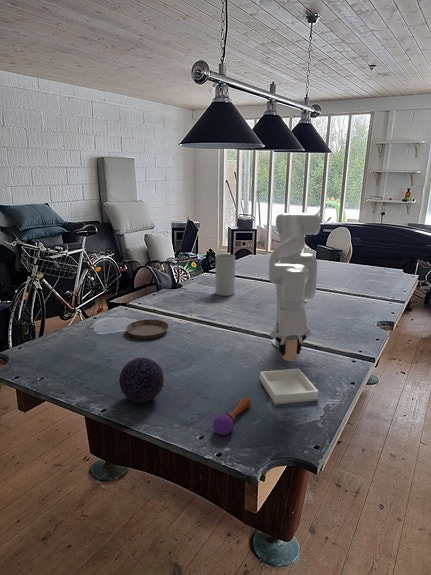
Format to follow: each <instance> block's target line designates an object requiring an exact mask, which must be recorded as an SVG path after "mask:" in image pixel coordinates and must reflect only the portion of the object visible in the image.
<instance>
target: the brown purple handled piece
mask: <svg viewBox="0 0 431 575" xmlns="http://www.w3.org/2000/svg"><path fill="white" fill-rule="evenodd" d="M251 404H252V402H251V400H250V398H248V397H243V398H241V400H240V402H239V403H238V405H236V406H235V409H233V411H232V413H231V412H230V413H224V414H219V415H217V416H216V417H214V420H213V421H212V422H213V423H212V427H213V430H214V432H216V434H218V435H220V436H225V435H227V436H228V434H230V433H231V432H232V430H233V428H234V424H235V416H237V415H238V414H240V413H241V412H243V411H245V410H246V409H247V408H249V407H250V406H251Z"/></svg>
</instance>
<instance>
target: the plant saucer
mask: <svg viewBox="0 0 431 575" xmlns="http://www.w3.org/2000/svg"><path fill="white" fill-rule="evenodd" d="M169 327H170V326H169V323H167V322H166V321H164V320H161V319H160V320H159V319H151V318H149V319H141V320H137V321H133V322H131V323H130V324H127V325H126V328H125V329H126V331H127V333H128V334H129V335H131V336H132V337H133V338H136V339H140V338H142V340H143V339H145V340H146V339H147V340H148V339H150V338H151V339H156V338H158V337H162V336H163V335H164V334H166V332H168V330H169V329H170V328H169ZM133 330H135V331H136V332H132V331H133ZM131 332H132V333H131ZM137 332H138V333H137ZM133 333H135V334H133ZM136 333H137V334H136ZM151 339H150V340H151Z"/></svg>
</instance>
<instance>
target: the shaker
mask: <svg viewBox="0 0 431 575" xmlns="http://www.w3.org/2000/svg"><path fill="white" fill-rule="evenodd" d="M297 344H298V336H288V337H286V338H285V341H284V345H285V355H284V356H282V355H281V357H282V359H283V360H284V361H288V362H294V361H296V360H298V358H297V357H298V356H297V355H298V354H297Z"/></svg>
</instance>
